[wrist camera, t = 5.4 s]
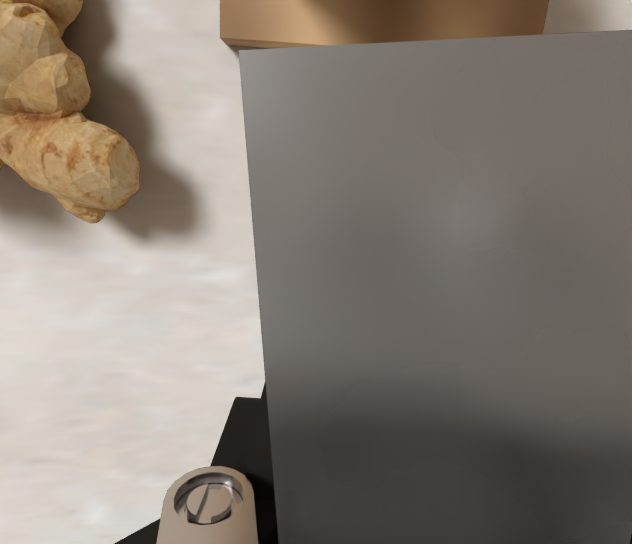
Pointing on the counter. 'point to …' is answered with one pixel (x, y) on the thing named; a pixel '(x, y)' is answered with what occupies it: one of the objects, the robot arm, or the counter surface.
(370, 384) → the bracket bar
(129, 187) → the ginger root
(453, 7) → the post rig
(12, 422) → the counter surface
